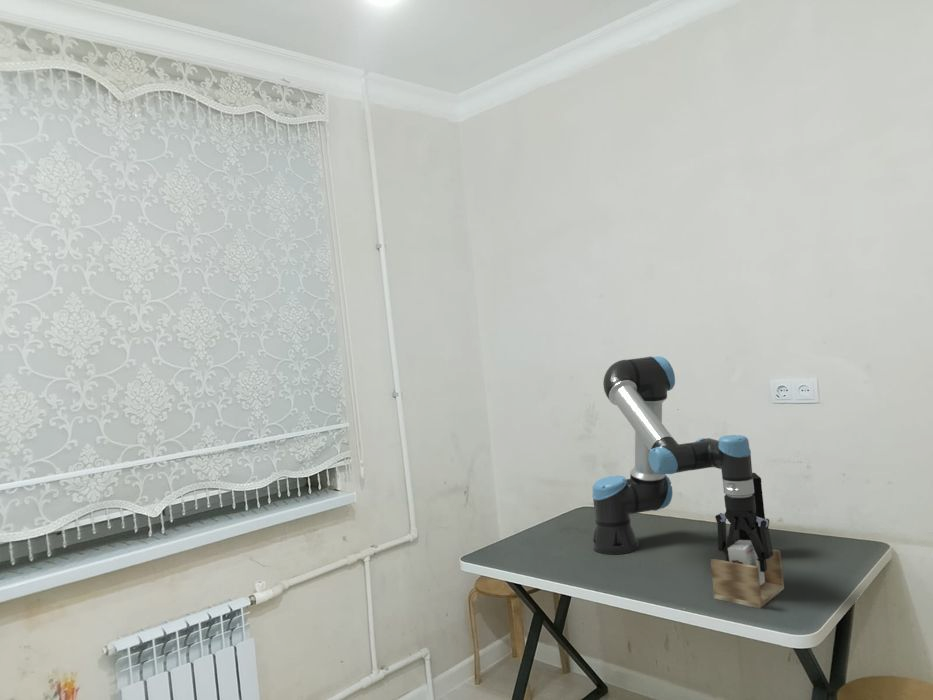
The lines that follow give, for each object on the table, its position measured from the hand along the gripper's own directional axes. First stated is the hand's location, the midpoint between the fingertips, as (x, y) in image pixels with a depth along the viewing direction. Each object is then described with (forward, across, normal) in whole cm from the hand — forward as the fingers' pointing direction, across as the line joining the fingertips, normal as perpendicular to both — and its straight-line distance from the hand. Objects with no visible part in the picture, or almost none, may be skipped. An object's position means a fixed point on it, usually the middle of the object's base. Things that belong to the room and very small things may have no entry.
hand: (748, 580), depth 171 cm
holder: (+3, 0, 0) cm, 3 cm away
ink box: (+2, 0, 0) cm, 2 cm away
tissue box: (+4, -11, +28) cm, 30 cm away
